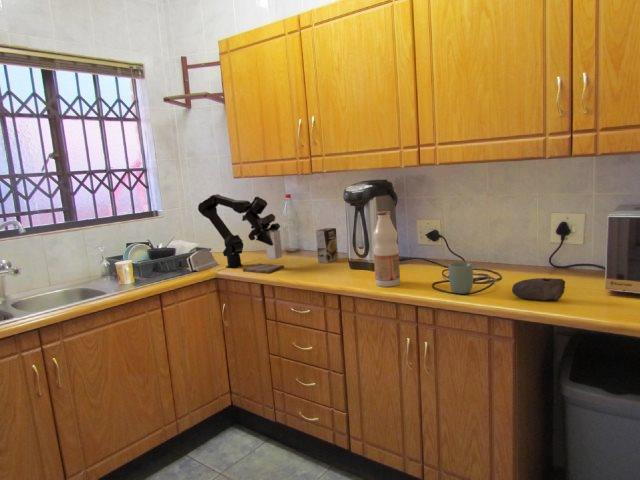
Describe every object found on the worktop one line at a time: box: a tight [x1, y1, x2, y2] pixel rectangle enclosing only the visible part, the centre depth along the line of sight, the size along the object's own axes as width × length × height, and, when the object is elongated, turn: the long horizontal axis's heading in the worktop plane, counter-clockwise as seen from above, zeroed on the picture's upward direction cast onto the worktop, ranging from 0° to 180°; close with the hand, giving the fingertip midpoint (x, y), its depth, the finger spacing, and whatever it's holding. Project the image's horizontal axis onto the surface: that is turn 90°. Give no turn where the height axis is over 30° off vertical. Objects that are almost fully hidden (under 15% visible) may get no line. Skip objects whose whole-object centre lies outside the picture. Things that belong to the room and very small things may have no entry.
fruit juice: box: [372, 210, 401, 288], centre depth 170 cm, size 9×9×28 cm
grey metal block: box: [186, 250, 219, 272], centre depth 232 cm, size 17×5×10 cm, turn 153°
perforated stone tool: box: [511, 277, 566, 302], centre depth 140 cm, size 15×5×7 cm, turn 61°
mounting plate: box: [242, 263, 285, 275], centre depth 216 cm, size 16×12×1 cm
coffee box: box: [315, 227, 339, 264], centre depth 223 cm, size 9×6×16 cm
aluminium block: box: [265, 229, 283, 260], centre depth 213 cm, size 5×5×13 cm
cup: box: [448, 261, 474, 295], centre depth 153 cm, size 8×8×10 cm
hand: (275, 244), depth 213 cm, fingers closed on aluminium block, 5 cm apart
